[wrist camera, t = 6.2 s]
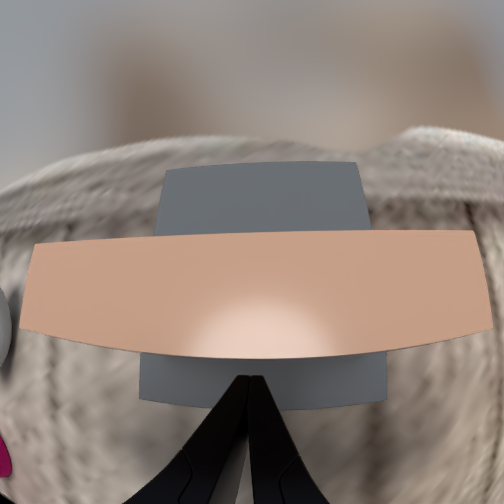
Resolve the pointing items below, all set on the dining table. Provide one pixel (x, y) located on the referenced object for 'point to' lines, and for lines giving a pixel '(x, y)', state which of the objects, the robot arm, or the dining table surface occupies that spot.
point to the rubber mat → (264, 220)
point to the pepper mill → (4, 460)
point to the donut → (4, 327)
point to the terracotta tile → (260, 293)
